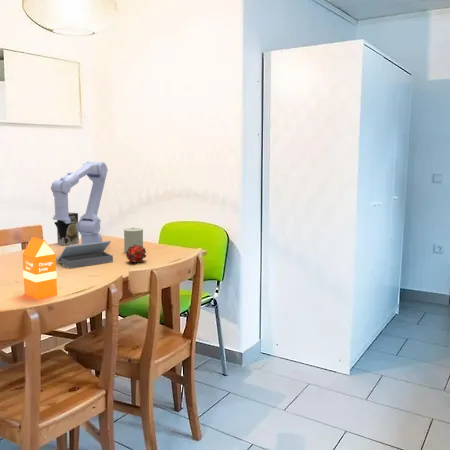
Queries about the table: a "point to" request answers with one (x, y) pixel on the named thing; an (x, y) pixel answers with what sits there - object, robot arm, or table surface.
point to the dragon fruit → (136, 253)
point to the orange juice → (39, 269)
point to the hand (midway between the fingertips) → (62, 237)
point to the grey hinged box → (86, 260)
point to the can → (132, 237)
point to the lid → (84, 249)
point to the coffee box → (70, 232)
